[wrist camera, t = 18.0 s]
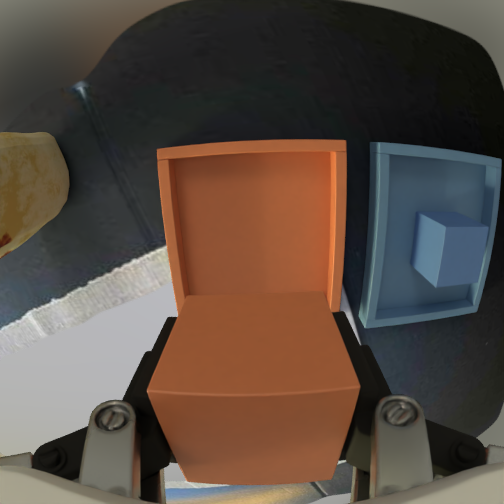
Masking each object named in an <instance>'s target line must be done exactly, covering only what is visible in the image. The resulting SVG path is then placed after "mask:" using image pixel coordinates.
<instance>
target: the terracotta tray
mask: <svg viewBox="0 0 504 504" xmlns="http://www.w3.org/2000/svg"><path fill="white" fill-rule="evenodd" d="M157 159H158V161H157V162H158V173H159V184H160V194H161V203H162V212H163V221H164V229H165V236H166V244H167V251H168V257H169V264H170V271H171V277H172V283H173V288H174V294H175V300H176V306H177V311H178V315H179V313H180V311H181V308H182V306H183V304H184V302H185V299H186V297H187V296H188V295H235V294H266V293H289V292H310V291H323V293H324V295H325V297H326V300H327V302H328V304H329V307H330V309H331V312H339V311H340V301H341V290H342V278H343V265H344V249H345V229H346V197H347V153H346V140H320V139H286V140H253V141H234V142H219V143H207V144H196V145H186V146H177V147H168V148H160V149H157Z"/></svg>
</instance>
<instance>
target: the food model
mask: <svg viewBox="0 0 504 504" xmlns="http://www.w3.org/2000/svg"><path fill="white" fill-rule="evenodd" d="M69 185H70V184H69V171H68V168H67V165H66V162H65V159H64V157H63V155H62V153H61V150H60V148H59V146H58V144H57V142H56V140H55V138H54V137H53V136H52V135H50V134H49V133H46V132H37V133H10V132H3V133H0V259H1V258H2V257H4V256H5V255H7V254H8V253H10V252H11V251H13V250H14V249H16V248H17V247H19V246H20V245H21V244H23V243H24V242H25V241H26V240H28V239H29V238H30V237H31V236H32V235H34V234H35V233H36V232H37V231H38V230H39V229H40V228H41V227H42V226H43V225H44V224H46V223H47V222H49V221H50V220H51V219H53V218H54V217H55V216H56V215H58V214H59V212H60V210H61V209H62V207H63V206H64V204H65V202H66V201H67V196H68V191H69Z"/></svg>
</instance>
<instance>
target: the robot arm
mask: <svg viewBox="0 0 504 504" xmlns="http://www.w3.org/2000/svg"><path fill="white" fill-rule="evenodd" d="M332 314H333V317H334V319H335V322H336V324H337V327H338V329H339V332H340V334H341V337H342V339H343V342H344V344H345V347H346V349H347V352H348V354H349V357H350V360H351V362H352V365H353V368H354V370H355V373H356V375H357V378H358V381H359V384H360V386H361V387H360V391H359V395H358V399H357V402H356V406H355V410H354V413H353V417H352V420H351V423H350V427H349V430H348V433H347V437H346V440H345V443H344V446H343V449H342V452H341V455H340V458H339V461H341V460H346V461H347V463H349V464H350V465H352V466H353V478H352V489H351V499H350V503H348V504H504V447H501V446H495V445H488V447H487V448H486V447H484V446H483V444H482V443H481V442H480V441H479V440H478V439H477V438H475V437H473V436H470V435H467V434H464V433H461V432H459V431H456V430H453V429H450V428H447V427H445V426H442V425H439V424H437V423H434V422H432V421H429V420H426V419H425V418H424V412H423V409H422V406H421V405H420V403H419V402H418V401H417V400H415V399H414V398H412V397H410V396H407V395H404V394H393V395H392V393H391V391H390V389H389V387H388V385H387V382H386V380H385V378H384V376H383V374H382V372H381V370H380V368H379V365H378V363H377V361H376V359H375V357H374V355H373V353H372V351H371V349H370V347H369V346H368V345H360V344H359V342H358V340H357V338H356V336H355V333H354V331H353V329H352V327H351V325H350V323H349V321H348V319H347V316H346V314H345V312H344V311H341V312H332ZM176 320H177V317H168V318H167V320H166V322H165V324H164V326H163V328H162V330H161V332H160V334H159V336H158V338H157V340H156V343H155V344H154V347H153V349H152V351H147V352H145V354H144V356H143V358H142V360H141V362H140V364H139V366H138V368H137V370H136V372H135V374H134V376H133V378H132V380H131V383H130V385H129V387H128V389H127V391H126V393H125V395H124V397H123V400H110V401H106V402H104V403H101V404H100V405H98V406H97V407H96V408H95V409H94V410H93V411H92V413H91V416H90V420H89V424H88V426H87V427H85V428H82V429H80V430H78V431H75V432H73V433H71V434H68V435H65V436H63V437H60V438H58V439H55V440H53V441H50V442H48V443H45V444H44V445H42V446H40V447H39V448H38V449H37V450H36V452H35V453H34V455H32V453H31V452H28V453H22V454H17V455H11V456H5V457H0V504H166V495H165V481H164V469H163V468H165V467H167V466H168V465H169V463H170V462H171V463H177V461H176V458H175V456H174V454H173V452H172V450H171V448H170V446H169V444H168V441H167V439H166V437H165V435H164V432H163V430H162V428H161V425H160V423H159V421H158V418H157V416H156V413H155V411H154V409H153V406H152V404H151V401H150V398H149V396H148V393H147V388H148V386H149V384H150V381H151V379H152V376H153V374H154V371H155V369H156V367H157V364H158V362H159V359H160V357H161V355H162V352H163V350H164V348H165V345H166V343H167V341H168V338H169V336H170V334H171V331H172V329H173V327H174V324H175V322H176Z"/></svg>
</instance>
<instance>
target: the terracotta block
mask: <svg viewBox="0 0 504 504" xmlns="http://www.w3.org/2000/svg"><path fill="white" fill-rule="evenodd" d="M360 387H361V386H360V384H359V381H358V378H357V375H356V373H355V370H354V368H353V365H352V362H351V360H350V357H349V354H348V352H347V349H346V347H345V344H344V342H343V339H342V337H341V334H340V332H339V329H338V327H337V324H336V322H335V319H334V317H333V314H332V312H331V309H330V307H329V304H328V302H327V300H326V297H325V295H324V293H323V291H310V292H289V293H266V294H235V295H188V296H187V297H186V299H185V302H184V304H183V306H182V308H181V311H180V313H179V315H178V317H177V320H176V322H175V324H174V327H173V329H172V331H171V334H170V336H169V338H168V341H167V343H166V345H165V348H164V350H163V352H162V355H161V357H160V359H159V362H158V364H157V367H156V369H155V371H154V374H153V376H152V379H151V381H150V384H149V386H148V388H147V393H148V396H149V398H150V401H151V404H152V406H153V409H154V411H155V413H156V416H157V418H158V421H159V423H160V425H161V428H162V430H163V432H164V435H165V437H166V439H167V441H168V444H169V446H170V448H171V450H172V452H173V454H174V456H175V458H176V461H177V463H178V465H179V467H180V469H181V471H182V473H183V475H184V476H185V478H186V480H187V481H188V482H197V483H209V484H227V485H273V484H291V483H304V482H314V481H322V480H330V479H332V477H333V474H334V472H335V469H336V466H337V463H338V461H339V458H340V455H341V452H342V449H343V446H344V443H345V440H346V437H347V433H348V430H349V427H350V423H351V420H352V417H353V413H354V410H355V406H356V402H357V399H358V395H359V391H360Z"/></svg>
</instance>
